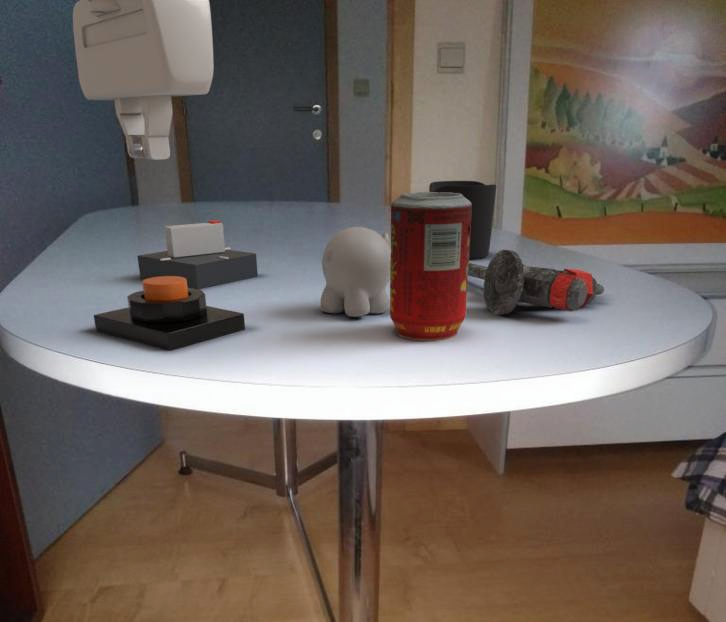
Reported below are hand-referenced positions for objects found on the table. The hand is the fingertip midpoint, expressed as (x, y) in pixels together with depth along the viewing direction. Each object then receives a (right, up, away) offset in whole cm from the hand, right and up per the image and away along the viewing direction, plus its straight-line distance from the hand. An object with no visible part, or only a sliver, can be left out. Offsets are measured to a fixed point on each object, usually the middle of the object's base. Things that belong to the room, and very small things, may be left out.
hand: (149, 158), depth 62 cm
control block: (0, -13, +7) cm, 15 cm away
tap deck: (-3, -2, +30) cm, 30 cm away
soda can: (+24, -14, +6) cm, 29 cm away
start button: (0, -11, +5) cm, 12 cm away
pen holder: (+33, +5, +44) cm, 55 cm away
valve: (+37, -7, +20) cm, 42 cm away
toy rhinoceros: (+20, -10, +15) cm, 26 cm away
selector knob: (-3, +1, +29) cm, 29 cm away
